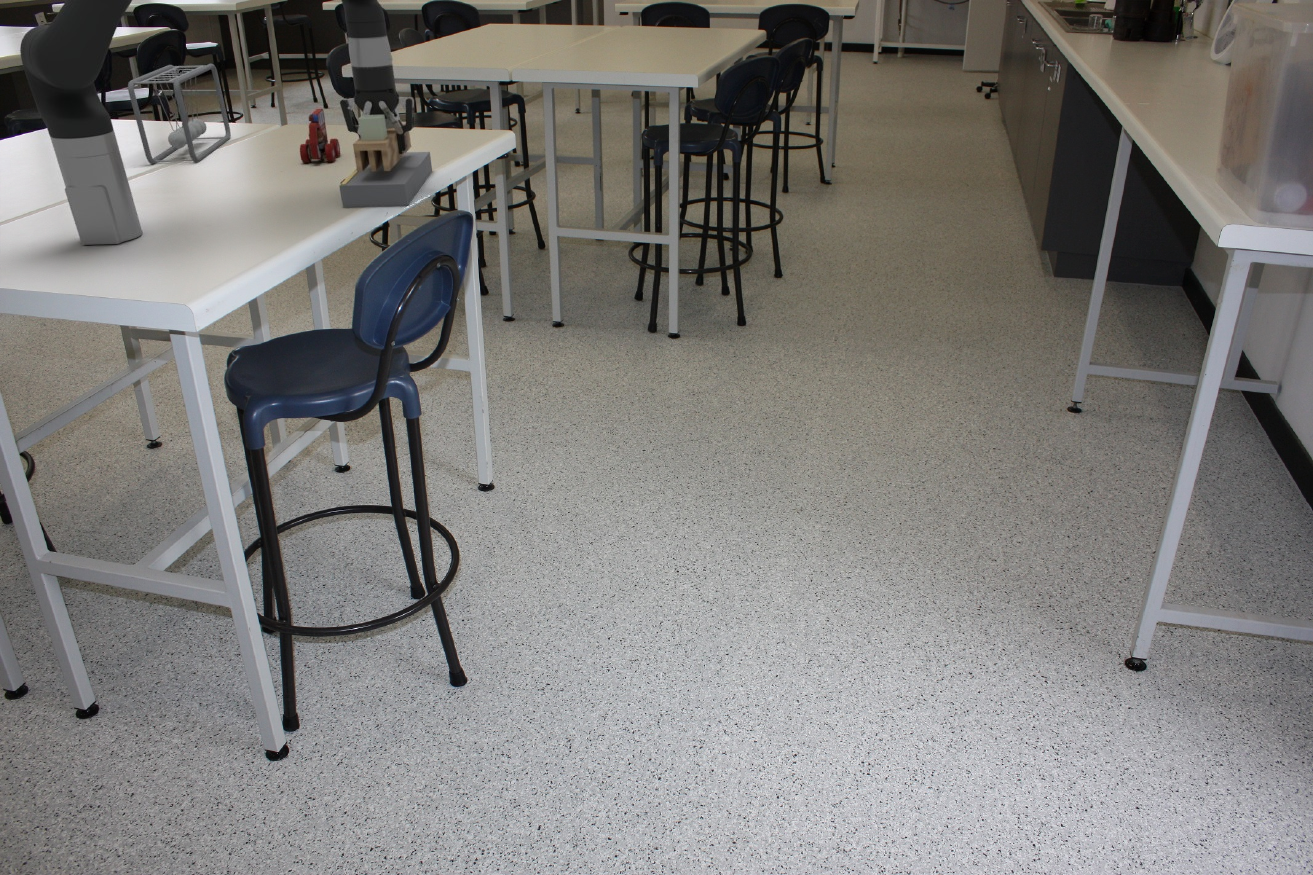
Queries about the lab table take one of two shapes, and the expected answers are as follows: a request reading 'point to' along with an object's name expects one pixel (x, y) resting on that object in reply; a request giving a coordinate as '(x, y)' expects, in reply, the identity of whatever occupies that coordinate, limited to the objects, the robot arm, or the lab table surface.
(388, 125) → the block
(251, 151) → the lab table surface
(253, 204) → the lab table surface
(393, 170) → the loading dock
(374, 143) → the tan wooden bar
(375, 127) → the block
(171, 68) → the newton's cradle
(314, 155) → the toy fire truck
